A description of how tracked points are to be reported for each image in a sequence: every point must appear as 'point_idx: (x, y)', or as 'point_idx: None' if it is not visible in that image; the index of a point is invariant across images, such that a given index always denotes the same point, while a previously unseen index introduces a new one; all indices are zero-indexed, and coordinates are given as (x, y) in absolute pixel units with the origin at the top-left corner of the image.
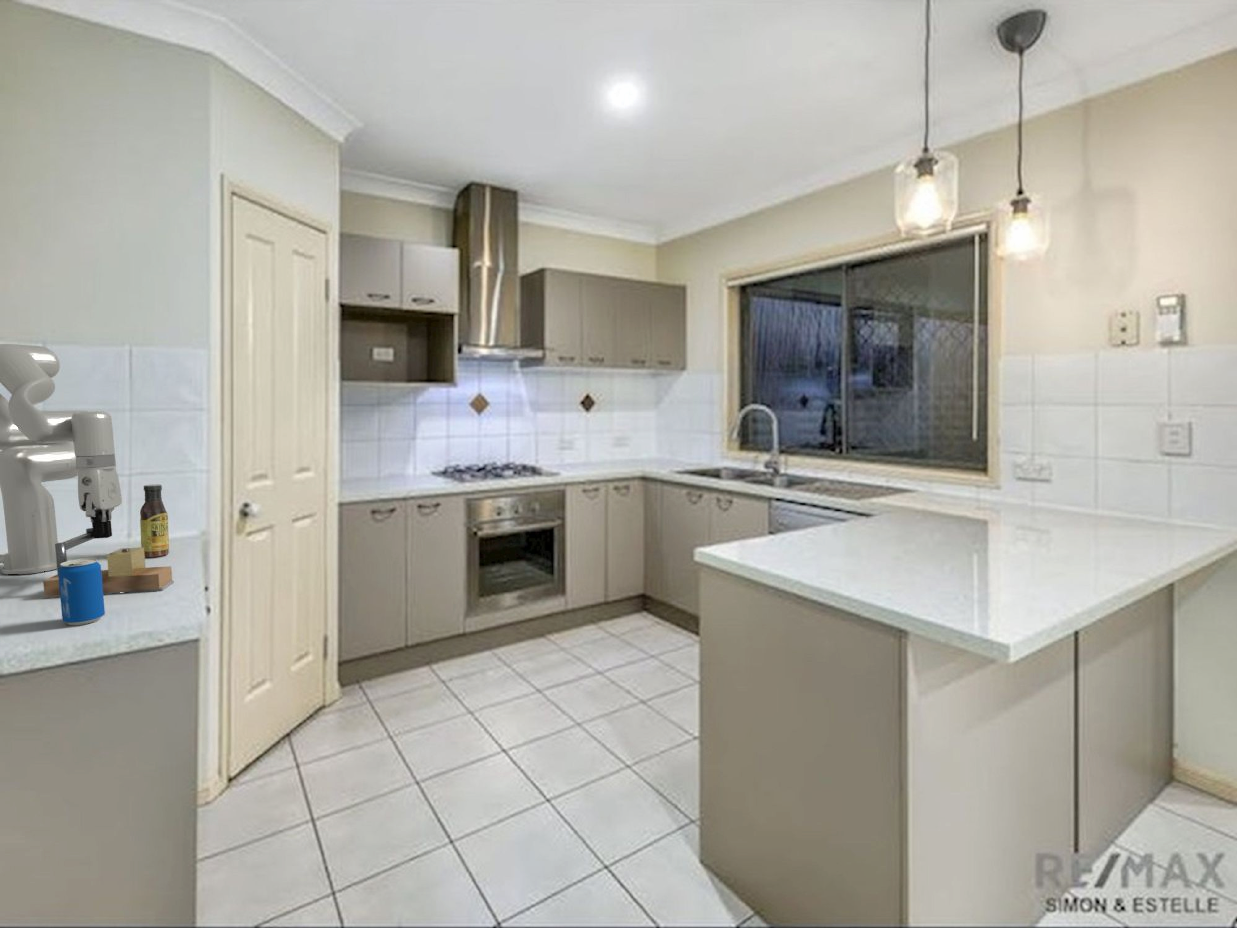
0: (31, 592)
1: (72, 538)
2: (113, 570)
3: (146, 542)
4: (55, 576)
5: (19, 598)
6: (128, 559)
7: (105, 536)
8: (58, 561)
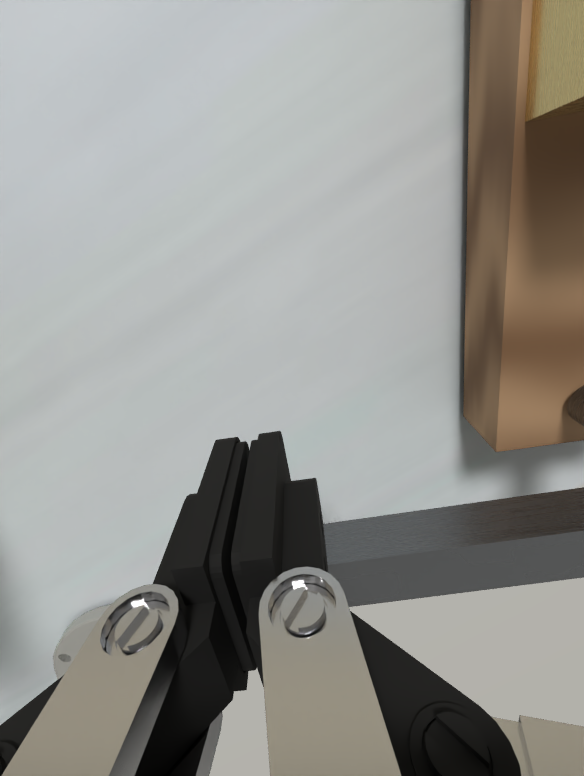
0: (472, 492)
1: (514, 584)
2: None
3: None
4: (581, 428)
5: (550, 480)
6: None
7: (282, 457)
8: None
